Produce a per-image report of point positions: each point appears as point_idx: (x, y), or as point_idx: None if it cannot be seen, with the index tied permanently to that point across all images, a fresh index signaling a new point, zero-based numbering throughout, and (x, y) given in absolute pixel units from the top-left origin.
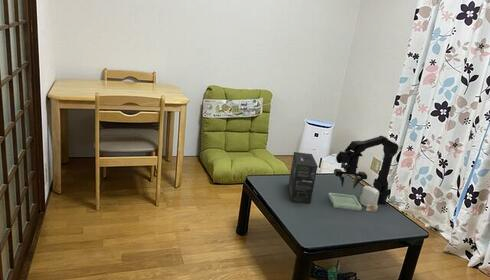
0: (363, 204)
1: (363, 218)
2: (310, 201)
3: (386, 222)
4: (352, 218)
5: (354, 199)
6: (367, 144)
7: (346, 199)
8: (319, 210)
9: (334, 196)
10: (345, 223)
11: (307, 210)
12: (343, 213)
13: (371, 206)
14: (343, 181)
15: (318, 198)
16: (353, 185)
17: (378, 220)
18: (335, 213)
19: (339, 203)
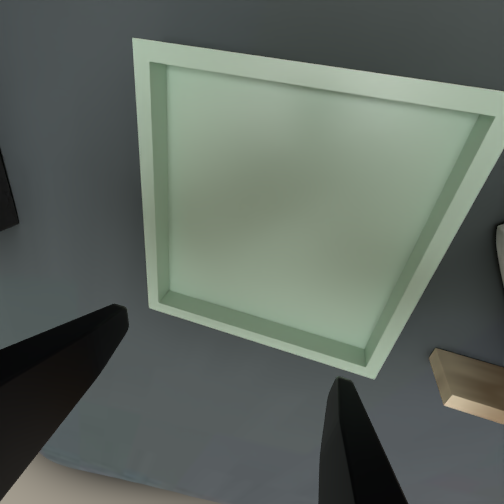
0: (501, 274)
1: (315, 419)
2: (3, 229)
3: (455, 482)
4: (241, 404)
5: (448, 187)
6: None
7: (337, 167)
8: (76, 309)
9: (212, 89)
10: (185, 424)
11: (20, 303)
12: (208, 356)
13: (484, 412)
14: (9, 484)
15: (64, 125)
16: (333, 429)
17: (412, 456)
18: (159, 349)
19: (213, 260)
